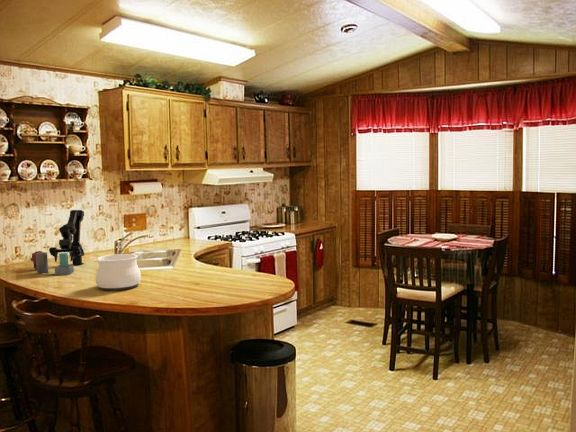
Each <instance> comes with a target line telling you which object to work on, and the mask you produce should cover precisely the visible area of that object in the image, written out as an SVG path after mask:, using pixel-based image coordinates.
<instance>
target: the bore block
mask: <svg viewBox="0 0 576 432" xmlns="http://www.w3.org/2000/svg"><path fill="white" fill-rule="evenodd" d="M74 270H75V268H74V265H73V263H70V264H69V263H68V267H60V264H58V265H56V266H55V267H54V276H67V275H71V274H74V272H75V271H74Z"/></svg>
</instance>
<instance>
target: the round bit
mask: <svg viewBox="0 0 576 432" xmlns="http://www.w3.org/2000/svg"><path fill="white" fill-rule="evenodd" d="M48 260H49V259H48V252H47V251H46V252H44V251H42V253H36V264H37V271H36V274H37V273H39V274H38V275H43V274H42V273H46V274H48V273H49V263H48V262H49V261H48Z"/></svg>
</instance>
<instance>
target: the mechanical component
mask: <svg viewBox="0 0 576 432" xmlns="http://www.w3.org/2000/svg"><path fill="white" fill-rule="evenodd" d="M42 252H43V251H42V250H36V251H35V252H32V253H31V258H30V261H31V262H33V269H34V271H36V270H37V264H36V253H42Z"/></svg>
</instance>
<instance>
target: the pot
mask: <svg viewBox="0 0 576 432" xmlns="http://www.w3.org/2000/svg"><path fill="white" fill-rule="evenodd" d="M141 255H142V254H141V253H140V252H133V253H120V254H119V253H118V254H117V253H116V254H107V255H102V256H98V257H97V258H96V259H93V260H92V261H93V262H97V263H98V268H97V271H96V274H95V284H96V286H97V287H98V288H99V289H100V290H102V291H107V292H108V291H112V292H113V291H116V292H117V291H125V289H126V290H129V289H133V288H135V287H137V286H139V285H140V283H141V280H142V274H141V270H140V268H139V266H138V262H137V258H138V257H139V256H141Z"/></svg>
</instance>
